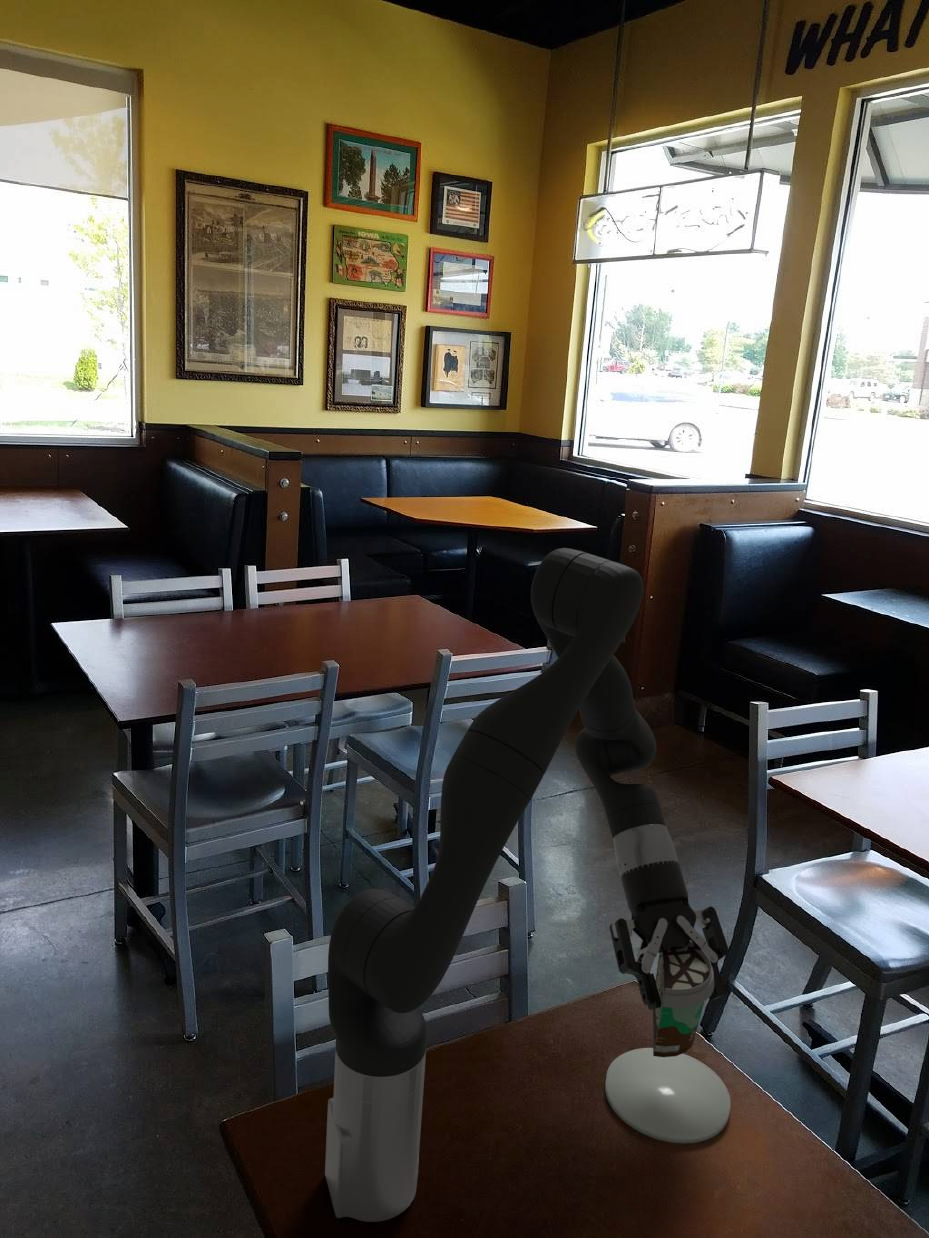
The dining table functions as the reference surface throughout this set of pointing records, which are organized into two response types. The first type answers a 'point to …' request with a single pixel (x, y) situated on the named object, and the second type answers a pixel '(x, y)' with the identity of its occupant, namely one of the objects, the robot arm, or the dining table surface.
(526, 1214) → the dining table surface
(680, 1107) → the serving plate
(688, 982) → the food container
